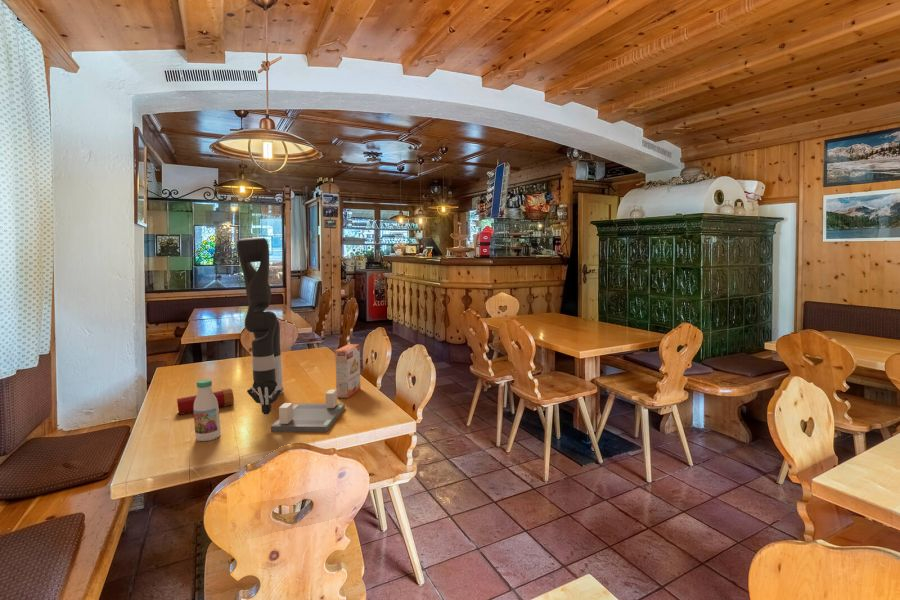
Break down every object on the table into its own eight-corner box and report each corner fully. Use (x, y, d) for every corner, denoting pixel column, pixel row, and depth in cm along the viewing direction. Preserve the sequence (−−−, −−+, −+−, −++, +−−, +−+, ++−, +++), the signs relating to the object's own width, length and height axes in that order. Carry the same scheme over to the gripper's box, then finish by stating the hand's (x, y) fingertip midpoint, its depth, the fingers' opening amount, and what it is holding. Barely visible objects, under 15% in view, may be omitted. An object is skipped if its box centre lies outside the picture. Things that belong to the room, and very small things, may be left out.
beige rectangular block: (279, 423, 169) (278, 407, 169) (285, 418, 174) (284, 403, 174) (287, 423, 169) (287, 407, 169) (293, 418, 174) (292, 403, 174)
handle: (326, 408, 185) (325, 393, 184) (330, 403, 190) (329, 389, 189) (333, 408, 185) (333, 393, 184) (337, 403, 190) (336, 389, 189)
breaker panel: (271, 431, 168) (270, 426, 168) (295, 408, 192) (295, 403, 192) (326, 432, 167) (326, 426, 167) (344, 408, 191) (344, 403, 191)
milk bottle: (201, 433, 168) (197, 378, 165) (224, 432, 169) (220, 377, 166) (191, 442, 160) (186, 384, 158) (215, 441, 161) (211, 384, 158)
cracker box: (349, 398, 203) (347, 350, 200) (336, 398, 204) (334, 350, 202) (361, 388, 217) (360, 343, 214) (349, 388, 218) (347, 343, 215)
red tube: (234, 407, 195) (233, 390, 194) (179, 417, 184) (177, 399, 184) (232, 402, 201) (230, 386, 200) (177, 411, 190) (176, 394, 189)
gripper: (240, 370, 166) (243, 417, 168) (277, 370, 166) (280, 417, 168) (250, 364, 174) (253, 410, 176) (286, 364, 173) (288, 410, 175)
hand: (266, 413), depth 172 cm, fingers closed
